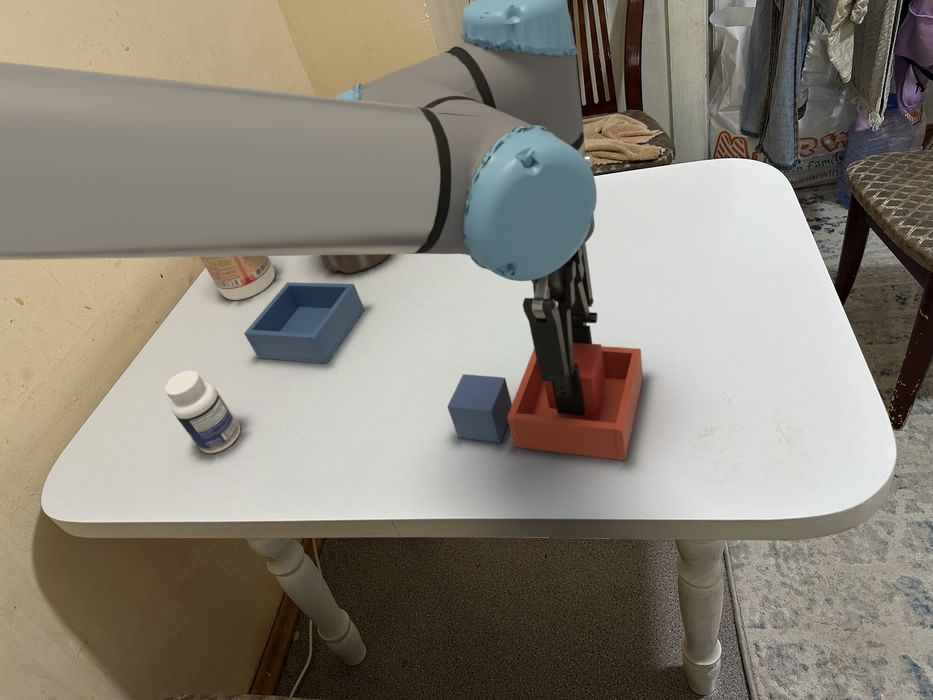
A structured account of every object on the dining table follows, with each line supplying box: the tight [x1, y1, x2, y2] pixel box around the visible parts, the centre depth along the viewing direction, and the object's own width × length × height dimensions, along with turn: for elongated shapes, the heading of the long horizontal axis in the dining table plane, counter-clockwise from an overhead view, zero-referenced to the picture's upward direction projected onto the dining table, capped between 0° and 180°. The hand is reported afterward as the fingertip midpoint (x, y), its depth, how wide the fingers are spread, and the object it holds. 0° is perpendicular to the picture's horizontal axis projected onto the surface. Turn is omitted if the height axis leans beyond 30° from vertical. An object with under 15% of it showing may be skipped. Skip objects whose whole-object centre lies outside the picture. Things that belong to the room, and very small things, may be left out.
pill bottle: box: [164, 369, 241, 454], centre depth 78 cm, size 5×5×10 cm
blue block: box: [447, 373, 513, 444], centre depth 72 cm, size 5×5×5 cm
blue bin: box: [243, 281, 365, 364], centre depth 93 cm, size 12×12×5 cm
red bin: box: [507, 345, 644, 461], centre depth 70 cm, size 12×12×5 cm
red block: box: [544, 343, 606, 413], centre depth 68 cm, size 5×5×5 cm
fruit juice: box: [199, 256, 276, 301], centre depth 100 cm, size 9×9×28 cm
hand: (577, 391), depth 69 cm, fingers closed on red block, 5 cm apart
